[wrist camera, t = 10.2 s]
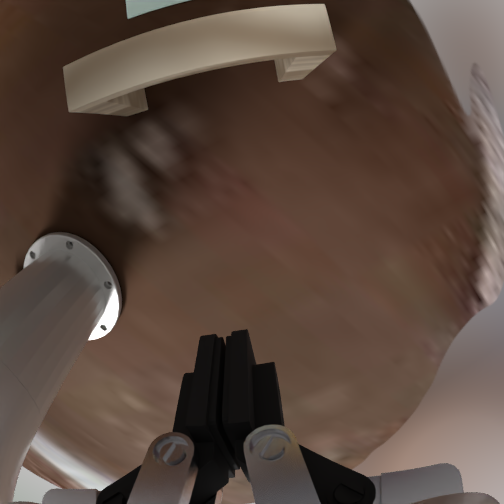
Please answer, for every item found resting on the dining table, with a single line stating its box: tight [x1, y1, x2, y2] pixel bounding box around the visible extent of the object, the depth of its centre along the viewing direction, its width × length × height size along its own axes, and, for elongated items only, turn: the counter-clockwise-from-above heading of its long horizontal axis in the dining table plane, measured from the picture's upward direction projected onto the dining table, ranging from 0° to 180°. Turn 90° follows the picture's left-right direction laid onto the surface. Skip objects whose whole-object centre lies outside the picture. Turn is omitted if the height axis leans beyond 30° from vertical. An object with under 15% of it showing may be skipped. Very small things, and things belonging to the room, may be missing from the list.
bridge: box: [63, 4, 336, 116], centre depth 17 cm, size 3×15×10 cm, turn 100°
